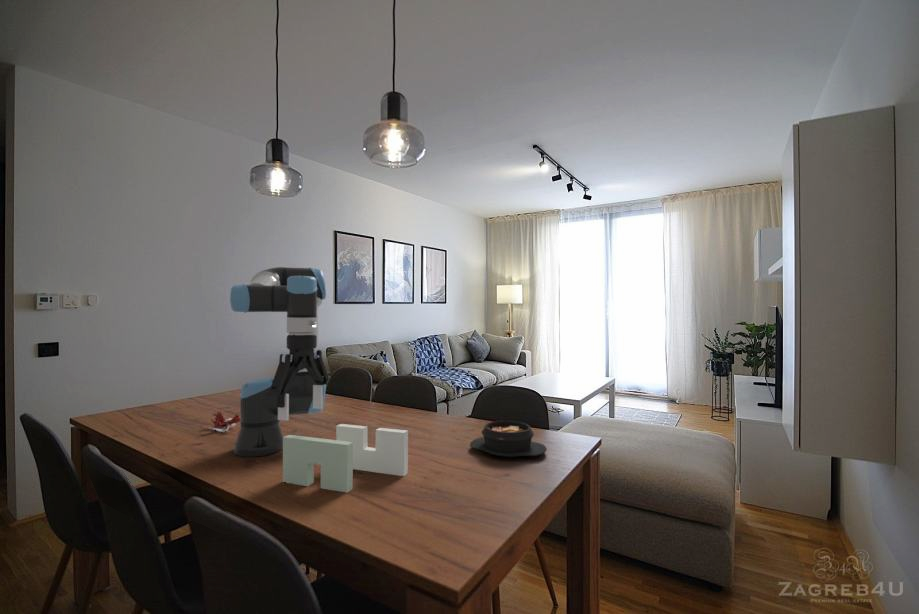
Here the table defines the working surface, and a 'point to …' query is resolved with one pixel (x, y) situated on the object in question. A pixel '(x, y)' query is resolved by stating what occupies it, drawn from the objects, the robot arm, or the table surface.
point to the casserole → (508, 440)
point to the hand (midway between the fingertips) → (301, 413)
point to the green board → (318, 462)
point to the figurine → (223, 422)
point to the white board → (377, 449)
